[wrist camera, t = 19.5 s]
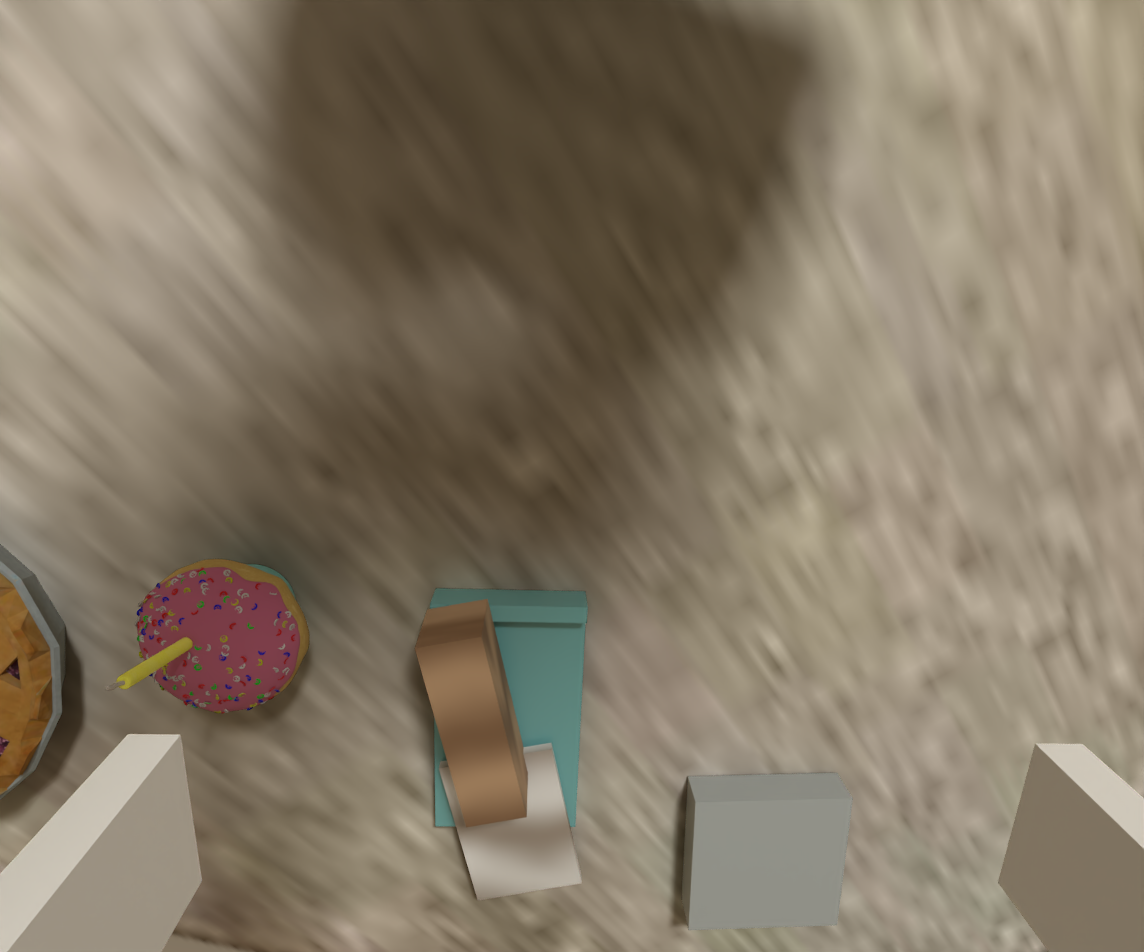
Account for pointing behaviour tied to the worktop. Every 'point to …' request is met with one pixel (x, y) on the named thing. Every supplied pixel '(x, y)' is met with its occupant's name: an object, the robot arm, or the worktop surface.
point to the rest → (533, 675)
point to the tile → (764, 850)
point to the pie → (27, 671)
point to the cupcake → (220, 635)
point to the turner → (492, 761)
